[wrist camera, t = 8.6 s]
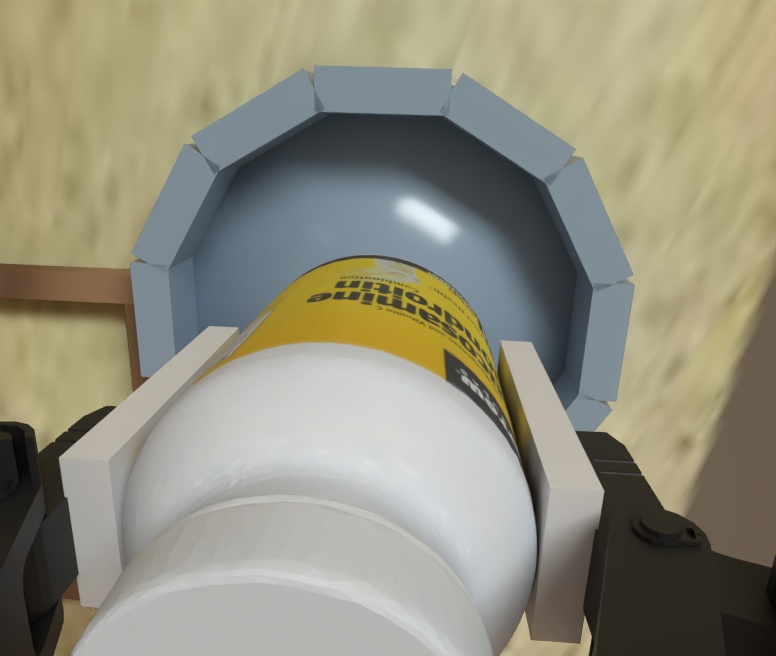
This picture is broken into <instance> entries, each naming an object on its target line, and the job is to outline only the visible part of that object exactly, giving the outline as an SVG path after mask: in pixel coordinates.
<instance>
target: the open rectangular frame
mask: <svg viewBox="0 0 776 656" xmlns="http://www.w3.org/2000/svg"><path fill="white" fill-rule="evenodd" d="M0 298H11V299H33V300H54V301H76V302H97V303H118V304H124V309H125V318H126V328H127V337H128V347H129V356H130V366H131V375H132V384H133V392H134V391H136V390H137V389H138V388H139V387H140V386H141V385H142V384H144V383H145V382H146V381H147V380H148V379H149V378H150V377H141V369H140V359H139V349H138V339H137V329H136V319H135V309H134V299H133V289H132V279H131V269H108V268H85V267H63V266H40V265H17V264H0ZM61 598H62V599H76V600H80V596H79V589H78V583H77V577H76V578H75V580H74V581H73V582H72V583H71V585H70V586H69V587H68V589H67V590H66V591H65V592H64V594H63V595H62V596H61Z"/></svg>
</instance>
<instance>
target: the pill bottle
mask: <svg viewBox="0 0 776 656" xmlns="http://www.w3.org/2000/svg"><path fill="white" fill-rule="evenodd" d="M122 539H123V550H124V555H125V560H126V565H127V566H126V568H125V569H124V570H123V571H122V573H121V574H120V576H119V578H118V579H117V581H116V583H115V585H114V586H113V588H112V589H111V591H110V592H109V594H108V595H107V597H106V598H105V600H104V601H103V603H102V604H101V606H100V607H99V609H98V610H97V612H96V613H95V615H94V616H93V618H92V620H91V621H90V623H89V624H88V626H87V627H86V629H85V630H84V632H83V634H82V635H81V637H80V638H79V640H78V641H77V643H76V644H75V646H74V648H73V650H72V652H71V654H70V656H499V655H500V653H501V652H502V651H503V649H504V648H505V646H506V645H507V643H508V642H509V641H510V639H511V638H512V636H513V634H514V632H515V630H516V628H517V626H518V625H519V623H520V620H521V618H522V616H523V613H524V611H525V608H526V606H527V602H528V599H529V596H530V592H531V589H532V585H533V580H534V575H535V569H536V560H537V531H536V522H535V516H534V510H533V503H532V497H531V493H530V489H529V486H528V482H527V479H526V476H525V472H524V469H523V465H522V462H521V458H520V455H519V451H518V446H517V442H516V439H515V435H514V431H513V428H512V424H511V421H510V417H509V414H508V410H507V406H506V403H505V399H504V396H503V392H502V388H501V385H500V382H499V378H498V375H497V372H496V368H495V365H494V361H493V357H492V353H491V350H490V347H489V343H488V340H487V338H486V335H485V331H484V329H483V327H482V325H481V323H480V321H479V319H478V317H477V315H476V313H475V312H474V311H473V309H472V307H471V306H470V305H469V303H468V302H467V301H466V299H465V298H464V297H463V296H462V295H461V294H460V293H459V292H458V291H457V290H456V289H455V288H454V287H453V286H452V285H451V284H450V283H448V282H447V281H446V280H445V279H443V278H442V277H440V276H439V275H438V274H436V273H434V272H433V271H431V270H429V269H427V268H425V267H423V266H421V265H419V264H416V263H414V262H411V261H408V260H405V259H402V258H397V257H393V256H386V255H376V254H364V255H353V256H347V257H342V258H338V259H334V260H331V261H328V262H326V263H323V264H321V265H319V266H317V267H315V268H313V269H311V270H309V271H308V272H306V273H304V274H303V275H301V276H300V277H299V278H297V279H296V280H295V281H293V282H292V283H291V284H290V285H289V286H287V287H286V288H285V289H284V290H283V291H282V292H281V293H280V294H279V295H278V296H277V297H276V298H275V299H274V300H273V301H272V302H271V303H270V304H269V305H268V306H267V307H266V308H265V309H264V310H263V312H262V313H261V314H260V315H259V316H258V317H257V318H256V319H255V320H254V321H253V322H252V323H251V324H250V325H249V326H248V327H247V328H246V329H245V330H244V331H243V332H242V333H241V334H240V335H239V336H238V337H237V338H236V339H235V340H234V341H233V342H232V344H231V345H230V346H229V347H228V348H227V349H226V350H225V351H224V352H223V353H222V354H221V355H220V356H219V357H218V358H217V359H216V360H215V361H214V362H213V363H212V364H211V365H210V366H209V367H208V368H207V369H206V370H205V371H204V372H203V374H202V375H201V376H200V377H199V378H198V379H197V380H196V381H195V382H194V383H193V384H192V385H191V386H190V387H189V388H188V389H187V390H186V391H185V392H184V393H183V394H182V395H181V396H180V397H179V398H178V399H177V400H176V401H175V402H174V404H173V405H172V406H171V407H170V408H169V410H168V411H167V412H166V413H165V414H164V415H163V417H162V418H161V419H160V421H159V422H158V423H157V425H156V426H155V428H154V429H153V431H152V432H151V434H150V435H149V437H148V439H147V440H146V442H145V444H144V446H143V447H142V449H141V451H140V453H139V455H138V457H137V460H136V463H135V465H134V468H133V470H132V473H131V476H130V479H129V482H128V486H127V490H126V495H125V500H124V506H123V520H122Z"/></svg>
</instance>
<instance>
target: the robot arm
mask: <svg viewBox="0 0 776 656" xmlns="http://www.w3.org/2000/svg"><path fill="white" fill-rule="evenodd" d="M238 336H239V327H219V326H209V327H208V328H206V329H205V330H204V331H203V332H202V333H201V334H200V335H198V336H197V337H196V338H195V339H194V340H193V341H192V342H190V343H189V344H188V345H187V346H186V347H185V348H184V349H182V350H181V351H180V352H179V353H178V354H177V355H176V356H174V357H173V358H172V359H171V360H170V361H169V362H168V363H166V364H165V365H164V366H163V367H162V368H161V369H160V370H158V371H157V372H156V373H155V374H154V375H153V376H152V377H150V378H149V379H148V380H147V381H146V382H145V383H144V384H142V385H141V386H140V387H139V388H138V389H137V390H136V391H134V392H133V393H132V394H131V395H130V396H129V397H128V398H126V399H125V400H124V401H123V402H122V403H121V404H120V405H118V406H105V407H103V408H101V409H99V410H97V411H94V412H92V413H90V414H88V415H85V416H83V417H82V418H81V419H80V420H79V421H77V422H76V423H75V424H74V425H72V426H71V427H70V428H69V429H68V432H64V433H63V434H61V435H60V436H59V437H58V438H57V439H55V442H52V443H50V444H49V445H48V446H47V447H46V448H44V449H43V450H42V451H41V452H39V453H38V449H37V443H36V437H35V431H34V429H33V428H32V427H31V426H29V425H28V424H24V423H20V422H15V421H13V422H0V656H54V652H55V649H56V646H57V642H58V639H59V636H60V632H61V629H62V626H63V622H64V610H63V604H62V598H61V596H62V595H63V594H64V592H65V591H66V590H67V589H68V587H69V586H70V585H71V583H72V582H73V581H74V580H75V578H76V577H77V583H78V589H79V596H80V603H81V607H95V608H99V607H100V606H101V604H102V603H103V601H104V600H105V598H106V597H107V595H108V594H109V592H110V591H111V589H112V588H113V586H114V585H115V583H116V581H117V579H118V578H119V576H120V574H121V573H122V571H123V570H124V569H125V568H126V566H127V565H126V560H125V555H124V550H123V539H122V520H123V506H124V500H125V495H126V490H127V486H128V482H129V479H130V476H131V473H132V470H133V468H134V465H135V463H136V460H137V457H138V455H139V453H140V451H141V449H142V447H143V446H144V444H145V442H146V440H147V439H148V437H149V435H150V434H151V432H152V431H153V429H154V428H155V426H156V425H157V423H158V422H159V421H160V419H161V418H162V417H163V415H164V414H165V413H166V412H167V411H168V410H169V408H170V407H171V406H172V405H173V404H174V402H175V401H176V400H177V399H178V398H179V397H180V396H181V395H182V394H183V393H184V392H185V391H186V390H187V389H188V388H189V387H190V386H191V385H192V384H193V383H194V382H195V381H196V380H197V379H198V378H199V377H200V376H201V375H202V374H203V372H204V371H205V370H206V369H207V368H208V367H209V366H210V365H211V364H212V363H213V362H214V361H215V360H216V359H217V358H218V357H219V356H220V355H221V354H222V353H223V352H224V351H225V350H226V349H227V348H228V347H229V346H230V345H231V344H232V342H233V341H234V340H235V339H236V338H237V337H238ZM497 375H498V378H499V382H500V385H501V388H502V392H503V396H504V399H505V403H506V406H507V410H508V414H509V417H510V421H511V424H512V428H513V431H514V435H515V439H516V442H517V446H518V451H519V455H520V458H521V462H522V465H523V469H524V472H525V476H526V479H527V482H528V486H529V489H530V493H531V497H532V503H533V510H534V516H535V522H536V531H537V560H536V569H535V575H534V580H533V585H532V589H531V592H530V596H529V599H528V602H527V606H526V608H525V612H526V617H527V622H528V627H529V632H530V637H531V640H539V641H552V642H565V643H579V644H580V641H581V635H582V628H583V622H584V616H585V617H586V620H587V623H588V626H589V629H590V632H591V635H592V639H591V646H590V652H589V656H776V556H775V558H774V562H773V566H772V568H770V567H767V566H763V565H759V564H755V563H751V562H747V561H743V560H739V559H736V558H732V557H729V556H725V555H722V554H719V553H716V552H714V551H712V550H711V544H710V543H709V540H708V538H707V536H706V534H705V533H704V532H703V531H702V530H701V529H700V528H699V527H698V526H696V525H695V524H694V523H693V522H691V521H689V520H688V519H686V518H684V517H682V516H680V515H678V514H676V513H673V512H670V511H667V510H665V509H664V508H663V506H662V505H661V503H660V501H659V500H658V498H657V497H656V495H655V493H654V492H653V490H652V489H651V487H650V485H649V484H648V482H647V481H646V479H645V477H644V476H642V475H641V471H640V469H639V468H638V466H637V465H636V463H634V460H633V458H632V457H631V455H630V453H629V452H628V450H627V449H626V447H625V446H624V445H623V444H622V443H620V442H619V441H617V440H616V439H615V438H613V437H612V436H610V435H609V434H608V433H606V432H590V431H575V430H574V428H573V426H572V424H571V422H570V420H569V418H568V416H567V414H566V412H565V410H564V408H563V406H562V404H561V402H560V400H559V398H558V395H557V393H556V391H555V389H554V387H553V385H552V383H551V381H550V379H549V377H548V375H547V373H546V371H545V369H544V367H543V365H542V363H541V361H540V359H539V357H538V355H537V352H536V350H535V348H534V346H533V344H532V342H523V341H503V340H500V347H499V358H498V369H497Z"/></svg>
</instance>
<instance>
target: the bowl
mask: <svg viewBox="0 0 776 656" xmlns="http://www.w3.org/2000/svg"><path fill="white" fill-rule="evenodd" d="M451 77H452V69H422V68H385V67H349V66H314V74H313V73H311V72H309V71H307V70H305V69H302V70H300V71H298V72H297V73H295V74H293V75H292V76H290V77H288V78H287V79H285V80H283V81H282V82H280V83H278V84H277V85H275V86H274V87H272V88H270V89H269V90H267V91H265V92H264V93H262V94H260V95H259V96H257V97H255V98H254V99H252V100H250V101H249V102H247V103H245V104H244V105H242V106H241V107H239V108H237V109H236V110H234V111H232V112H231V113H229V114H227V115H226V116H224V117H222V118H221V119H219V120H217V121H216V122H214V123H213V124H211V125H209V126H208V127H206V128H204V129H203V130H201V131H199V132H198V133H196V134H194V135H193V136H191V137H192V138H193V140H194V142H195V143H196V144H184V146H183V148H182V150H181V152H180V154H179V156H178V158H177V160H176V162H175V164H174V166H173V169H172V171H171V173H170V175H169V177H168V179H167V181H166V183H165V185H164V187H163V189H162V191H161V193H160V195H159V197H158V200H157V202H156V204H155V206H154V208H153V210H152V212H151V214H150V216H149V218H148V220H147V222H146V224H145V226H144V229H143V231H142V233H141V235H140V237H139V239H138V241H137V243H136V245H135V247H134V249H133V251H132V254H133V255H135V256H137V257H138V258H140V259H138V260H136V261H133V262H131V263H130V269H131V279H132V289H133V299H134V309H135V319H136V329H137V339H138V349H139V359H140V369H141V377H152V376H153V375H154V374H155V373H156V372H157V371H158V370H160V369H161V368H162V367H163V366H164V365H165V364H166V363H168V362H169V361H170V360H171V359H172V358H173V357H174V356H176V355H177V354H178V353H179V352H180V351H181V350H182V349H184V348H185V347H186V346H187V345H188V344H189V343H190V342H192V341H193V340H194V339H195V338H196V337H197V336H198V335H200V334H201V333H202V332H203V331H204V330H205V329H206V328H208V327H209V326H219V327H239V335H240V334H241V333H242V332H243V331H244V330H245V329H246V328H247V327H248V326H249V325H250V324H251V323H252V322H253V321H254V320H255V319H256V318H257V317H258V316H259V315H260V314H261V313H262V312H263V310H264V309H265V308H266V307H267V306H268V305H269V304H270V303H271V302H272V301H273V300H274V299H275V298H276V297H277V296H278V295H279V294H280V293H281V292H282V291H283V290H284V289H285V288H286V287H287V286H289V285H290V284H291V283H292V282H293V281H295V280H296V279H297V278H299V277H300V276H301V275H303V274H304V273H306V272H308V271H309V270H311V269H313V268H315V267H317V266H319V265H321V264H323V263H326V262H328V261H331V260H334V259H338V258H342V257H347V256H353V255H364V254H376V255H386V256H393V257H397V258H402V259H405V260H408V261H411V262H414V263H416V264H419V265H421V266H423V267H425V268H427V269H429V270H431V271H433V272H434V273H436V274H438V275H439V276H440V277H442V278H443V279H445V280H446V281H447V282H448V283H450V284H451V285H452V286H453V287H454V288H455V289H456V290H457V291H458V292H459V293H460V294H461V295H462V296H463V297H464V298H465V299H466V301H467V302H468V303H469V305H470V306H471V307H472V309H473V311H474V312H475V313H476V315H477V317H478V319H479V321H480V323H481V325H482V327H483V329H484V331H485V335H486V338H487V340H488V343H489V347H490V350H491V353H492V357H493V361H494V365H495V368H496V372H497V369H498V358H499V347H500V340H503V341H523V342H532V344H533V346H534V348H535V350H536V352H537V355H538V357H539V359H540V361H541V363H542V365H543V367H544V369H545V371H546V373H547V375H548V377H549V379H550V381H551V383H552V385H553V387H554V389H555V391H556V393H557V395H558V398H559V400H560V402H561V404H562V406H563V408H564V410H565V412H566V414H567V416H568V418H569V420H570V422H571V424H572V426H573V428H574V430H575V431H590V432H594V431H595V430H596V429H597V428H598V427H599V425H600V424H601V423H602V422H603V421H604V419H605V418H606V417H607V416H608V415H609V413H610V412H611V411H612V409H611V407H610V406H609V404H608V403H607V401H616V400H617V394H618V387H619V381H620V375H621V368H622V362H623V356H624V350H625V343H626V337H627V331H628V324H629V318H630V312H631V305H632V299H633V293H634V287H635V285H634V284H633V283H632V282H630V281H629V280H627V279H626V278H628V277H630V276H632V275H633V272H632V270H631V268H630V265H629V263H628V261H627V258H626V256H625V254H624V251H623V249H622V247H621V245H620V242H619V240H618V238H617V235H616V233H615V231H614V228H613V226H612V224H611V221H610V219H609V217H608V214H607V212H606V210H605V207H604V205H603V203H602V201H601V198H600V196H599V194H598V191H597V189H596V187H595V184H594V182H593V180H592V177H591V175H590V173H589V170H588V168H587V166H586V164H585V161H584V159H583V158H582V157H576V156H572V154H573V153H574V151H575V150H576V149H575V148H574V147H572V146H571V145H569V144H568V143H566V142H565V141H563V140H562V139H560V138H559V137H557V136H556V135H554V134H553V133H551V132H550V131H548V130H547V129H545V128H544V127H542V126H541V125H539V124H538V123H536V122H535V121H534V120H532V119H531V118H529V117H528V116H526V115H525V114H523V113H522V112H520V111H519V110H517V109H516V108H514V107H513V106H511V105H510V104H508V103H507V102H505V101H504V100H502V99H501V98H499V97H498V96H496V95H495V94H494V93H492V92H491V91H489V90H488V89H486V88H485V87H483V86H482V85H480V84H479V83H477V82H476V81H474V80H473V79H471V78H470V77H468V76H467V75H465V74H464V73H462V75H461V77H460V78H459V80H458V82H457V83H456V85H455V86H452V85H451Z"/></svg>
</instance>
